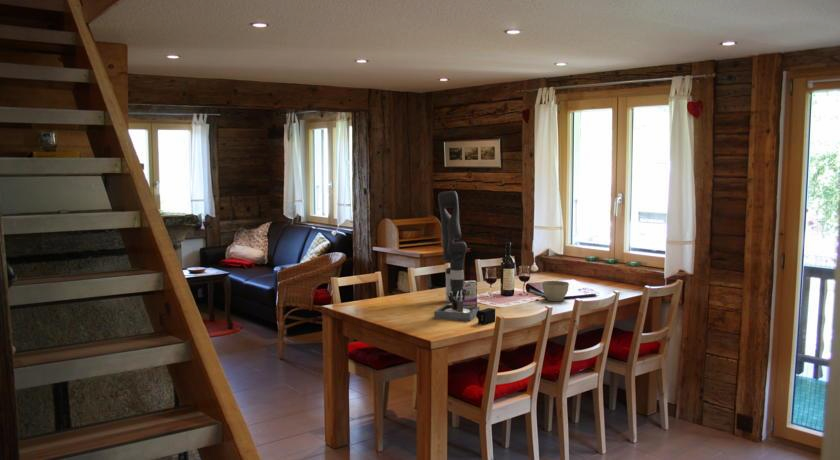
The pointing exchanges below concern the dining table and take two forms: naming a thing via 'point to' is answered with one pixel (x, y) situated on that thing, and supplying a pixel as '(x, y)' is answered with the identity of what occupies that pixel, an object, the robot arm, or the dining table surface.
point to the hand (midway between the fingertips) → (456, 308)
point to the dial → (458, 308)
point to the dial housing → (456, 313)
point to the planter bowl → (555, 290)
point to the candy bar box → (470, 293)
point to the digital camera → (486, 316)
